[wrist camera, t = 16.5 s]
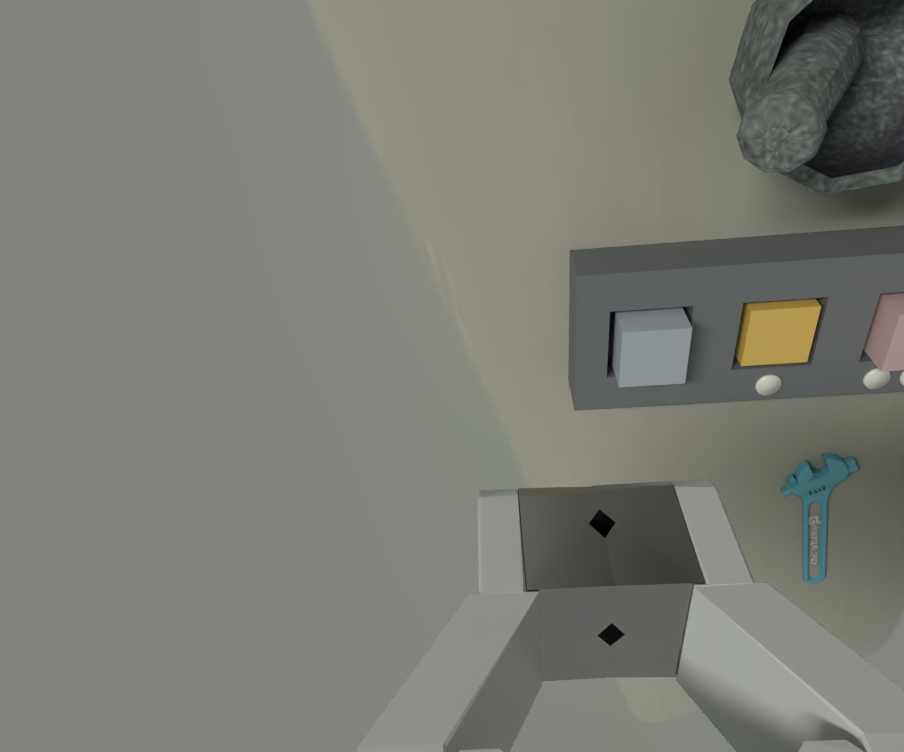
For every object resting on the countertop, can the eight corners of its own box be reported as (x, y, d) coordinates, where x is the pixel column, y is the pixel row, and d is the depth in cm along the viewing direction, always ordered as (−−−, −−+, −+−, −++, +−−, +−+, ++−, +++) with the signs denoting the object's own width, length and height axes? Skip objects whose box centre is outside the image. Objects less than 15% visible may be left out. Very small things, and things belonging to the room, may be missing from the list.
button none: (612, 364, 41) (618, 387, 39) (615, 311, 39) (622, 332, 37) (675, 360, 40) (685, 383, 39) (681, 306, 38) (692, 328, 37)
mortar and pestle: (942, -112, 29) (1179, -99, 19) (904, 115, 34) (1075, 215, 25) (664, -48, 31) (755, -5, 21) (670, 161, 36) (744, 272, 26)
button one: (729, 344, 41) (741, 366, 39) (738, 290, 39) (751, 310, 37) (792, 340, 41) (807, 362, 39) (805, 286, 39) (821, 306, 37)
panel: (568, 380, 44) (574, 412, 42) (570, 250, 39) (577, 278, 36) (932, 358, 43) (962, 390, 40) (985, 219, 37) (1023, 246, 35)
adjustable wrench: (783, 468, 48) (862, 453, 47) (778, 458, 48) (855, 443, 47) (785, 593, 55) (852, 582, 55) (780, 582, 56) (847, 572, 55)
